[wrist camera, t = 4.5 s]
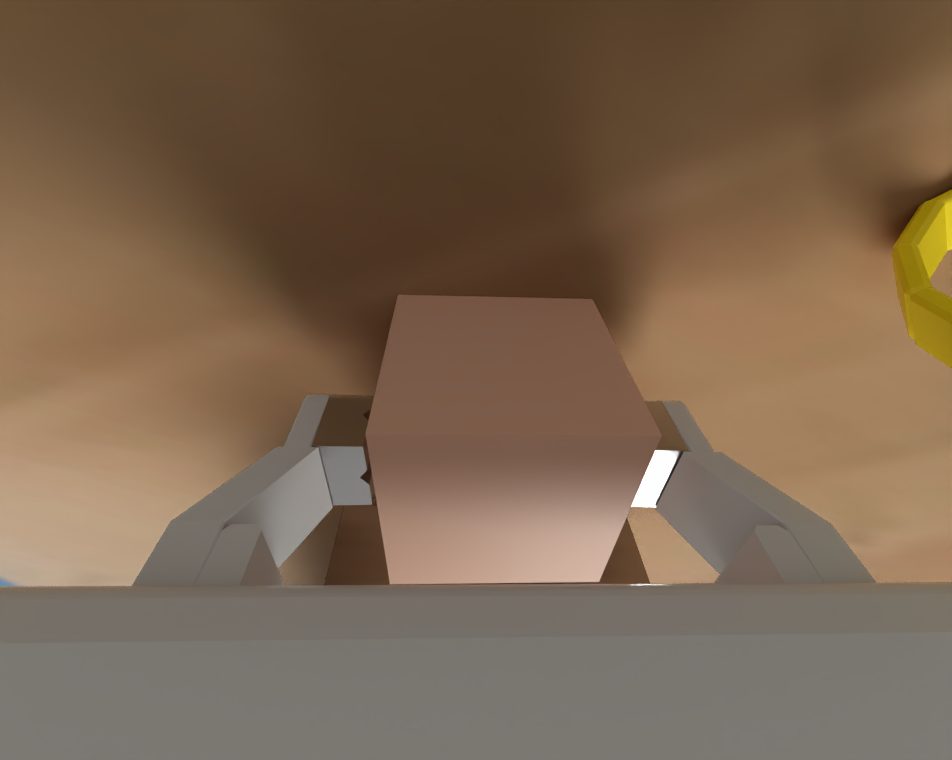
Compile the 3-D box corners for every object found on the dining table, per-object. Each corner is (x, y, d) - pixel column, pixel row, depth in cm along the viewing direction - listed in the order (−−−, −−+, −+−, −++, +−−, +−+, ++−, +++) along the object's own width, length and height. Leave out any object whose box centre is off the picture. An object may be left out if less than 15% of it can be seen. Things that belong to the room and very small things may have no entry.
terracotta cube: (591, 297, 10) (662, 435, 7) (560, 433, 13) (598, 582, 9) (398, 293, 10) (365, 433, 6) (409, 432, 13) (389, 584, 9)
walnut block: (625, 513, 16) (680, 669, 12) (556, 632, 22) (577, 761, 18) (345, 496, 15) (305, 662, 11) (353, 626, 21) (329, 762, 17)
